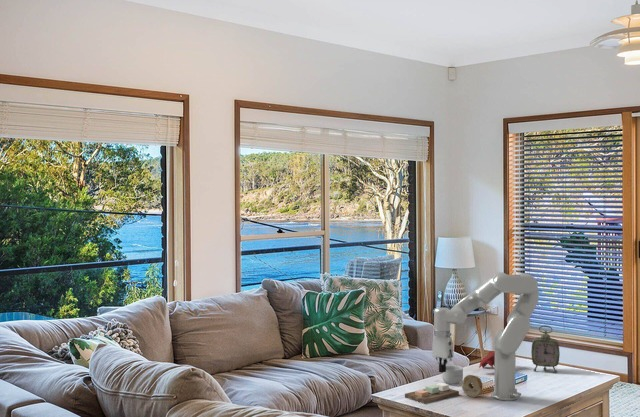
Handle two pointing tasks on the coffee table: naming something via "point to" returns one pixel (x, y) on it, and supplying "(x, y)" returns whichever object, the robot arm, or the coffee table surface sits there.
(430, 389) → the tile sage
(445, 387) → the tile cream
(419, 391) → the tile terracotta
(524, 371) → the coffee table surface
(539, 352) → the tabletop clock
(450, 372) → the teacup
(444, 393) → the brown tile tray
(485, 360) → the decorative bird sculpture
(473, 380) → the bagel
